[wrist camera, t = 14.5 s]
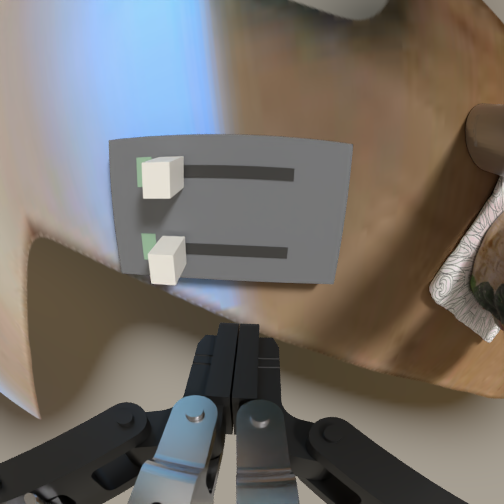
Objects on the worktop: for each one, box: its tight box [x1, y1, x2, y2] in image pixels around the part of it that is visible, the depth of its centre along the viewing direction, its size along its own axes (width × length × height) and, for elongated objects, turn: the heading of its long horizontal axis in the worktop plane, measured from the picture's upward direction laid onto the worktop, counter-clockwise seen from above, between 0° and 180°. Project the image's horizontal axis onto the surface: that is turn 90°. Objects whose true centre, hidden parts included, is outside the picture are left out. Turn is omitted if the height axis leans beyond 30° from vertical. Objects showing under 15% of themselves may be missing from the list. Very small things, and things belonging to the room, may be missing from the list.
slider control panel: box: [109, 134, 353, 284], centre depth 29 cm, size 24×15×3 cm, turn 88°
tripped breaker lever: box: [148, 236, 187, 285], centre depth 27 cm, size 2×3×4 cm
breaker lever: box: [142, 156, 184, 199], centre depth 24 cm, size 2×3×4 cm
